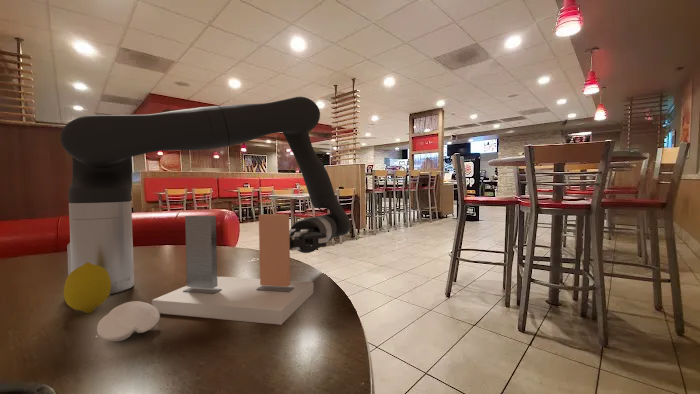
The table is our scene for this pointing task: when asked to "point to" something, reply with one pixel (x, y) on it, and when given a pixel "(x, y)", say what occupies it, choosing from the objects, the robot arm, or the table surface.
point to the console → (237, 300)
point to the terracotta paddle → (274, 249)
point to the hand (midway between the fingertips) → (277, 247)
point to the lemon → (87, 287)
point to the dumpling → (127, 320)
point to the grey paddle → (201, 251)
